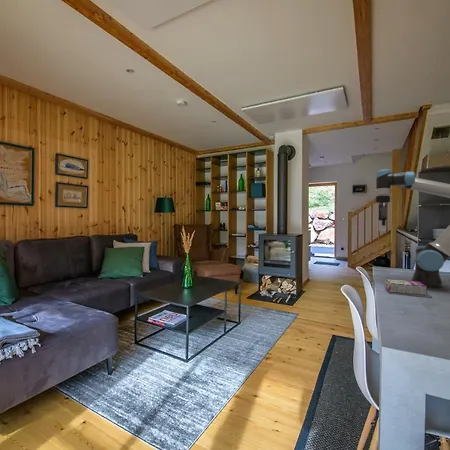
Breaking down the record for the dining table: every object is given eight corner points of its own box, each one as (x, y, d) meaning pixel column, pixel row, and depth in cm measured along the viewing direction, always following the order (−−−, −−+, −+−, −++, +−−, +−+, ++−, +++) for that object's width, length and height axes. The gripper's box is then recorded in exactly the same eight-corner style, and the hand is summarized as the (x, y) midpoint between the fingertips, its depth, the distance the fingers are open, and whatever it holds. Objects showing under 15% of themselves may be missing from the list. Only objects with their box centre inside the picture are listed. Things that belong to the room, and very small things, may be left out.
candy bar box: (419, 290, 150) (384, 287, 155) (420, 281, 150) (385, 278, 155) (426, 296, 139) (389, 292, 145) (427, 286, 139) (389, 282, 145)
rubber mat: (424, 291, 151) (424, 290, 151) (432, 298, 137) (432, 297, 137) (386, 287, 159) (386, 286, 159) (389, 293, 144) (389, 292, 144)
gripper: (374, 197, 181) (373, 230, 181) (377, 193, 158) (376, 231, 159) (387, 197, 178) (386, 230, 178) (393, 193, 155) (392, 231, 156)
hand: (382, 231), depth 168 cm, fingers open, 13 cm apart
